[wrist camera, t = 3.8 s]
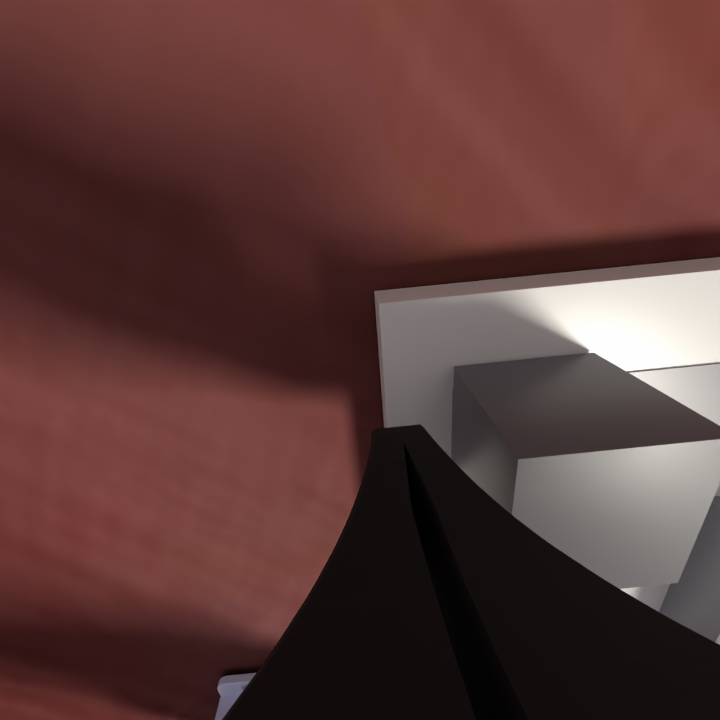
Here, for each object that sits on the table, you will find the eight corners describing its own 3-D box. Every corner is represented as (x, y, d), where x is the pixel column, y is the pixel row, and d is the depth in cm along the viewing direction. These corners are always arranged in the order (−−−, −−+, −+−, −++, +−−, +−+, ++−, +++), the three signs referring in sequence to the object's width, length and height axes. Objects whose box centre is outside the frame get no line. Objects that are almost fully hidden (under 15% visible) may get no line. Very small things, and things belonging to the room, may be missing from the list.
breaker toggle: (451, 475, 12) (501, 600, 8) (454, 366, 10) (517, 459, 6) (572, 463, 12) (678, 583, 8) (593, 352, 10) (739, 437, 6)
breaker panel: (398, 616, 17) (410, 711, 14) (374, 291, 11) (387, 327, 7) (805, 575, 17) (911, 660, 14) (1027, 226, 11) (1320, 235, 7)
